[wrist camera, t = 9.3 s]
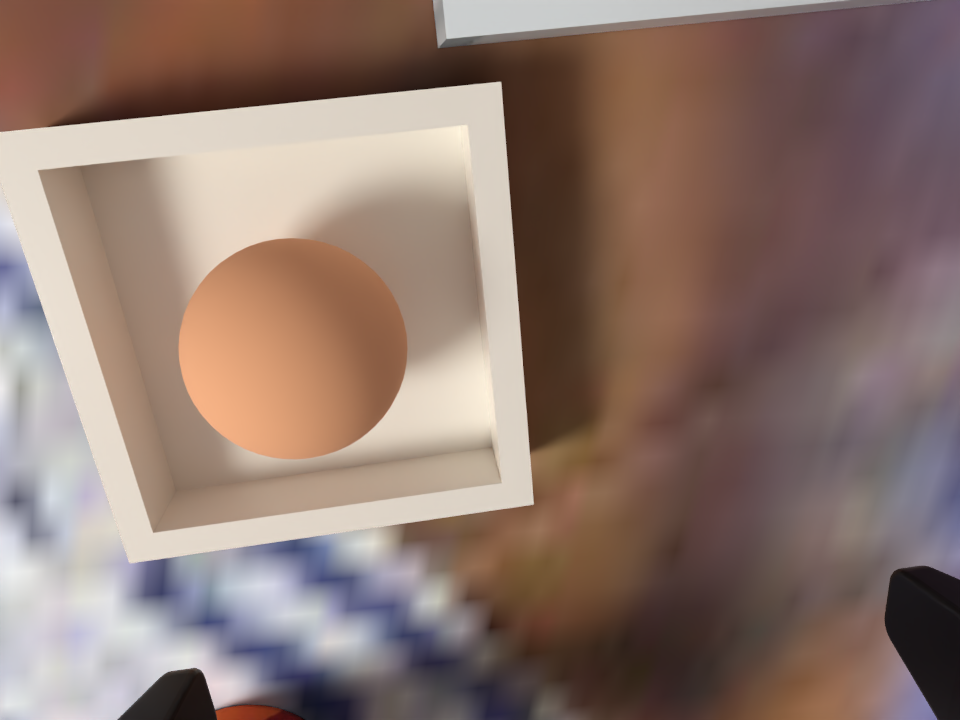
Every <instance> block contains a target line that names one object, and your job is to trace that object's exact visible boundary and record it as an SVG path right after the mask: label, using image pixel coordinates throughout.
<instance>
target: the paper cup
mask: <svg viewBox="0 0 960 720" xmlns="http://www.w3.org/2000/svg"><path fill="white" fill-rule="evenodd" d="M215 712H216V715H217V720H304V719H303V718H301V717H299V716H297V715H296V714H293V713H291V712H288V711H286V710H283V709H279V708H275V707H270V706H262V705H239V706H232V707H227V708H223V709H219V710H216V711H215Z"/></svg>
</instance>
